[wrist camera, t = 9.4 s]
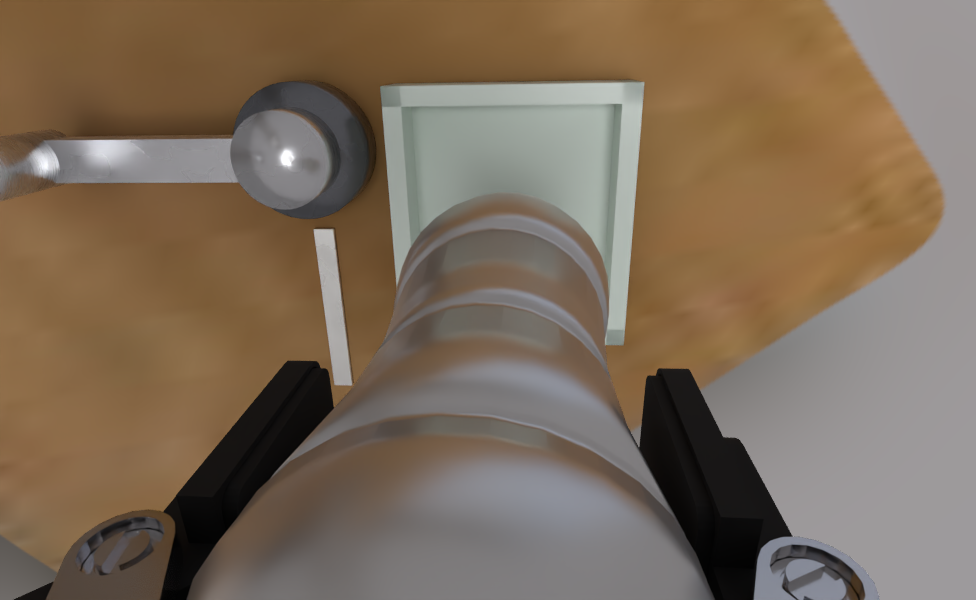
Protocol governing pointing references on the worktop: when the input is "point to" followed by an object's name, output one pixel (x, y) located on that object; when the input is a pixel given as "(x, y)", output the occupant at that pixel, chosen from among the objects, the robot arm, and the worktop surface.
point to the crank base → (348, 185)
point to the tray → (519, 158)
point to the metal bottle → (471, 443)
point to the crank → (184, 159)
